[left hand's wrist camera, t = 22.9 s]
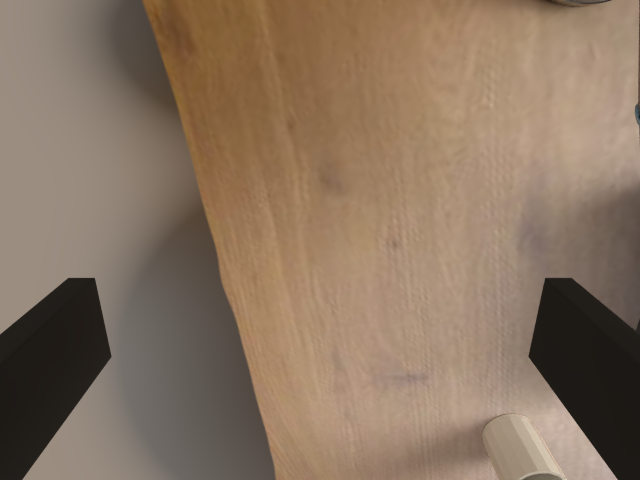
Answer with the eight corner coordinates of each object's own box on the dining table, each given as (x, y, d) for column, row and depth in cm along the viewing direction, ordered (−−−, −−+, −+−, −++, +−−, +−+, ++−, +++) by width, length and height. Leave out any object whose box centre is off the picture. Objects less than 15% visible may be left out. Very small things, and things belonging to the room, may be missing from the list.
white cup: (485, 413, 58) (513, 471, 50) (538, 413, 58) (575, 471, 50) (478, 453, 61) (503, 514, 53) (529, 453, 61) (562, 514, 53)
